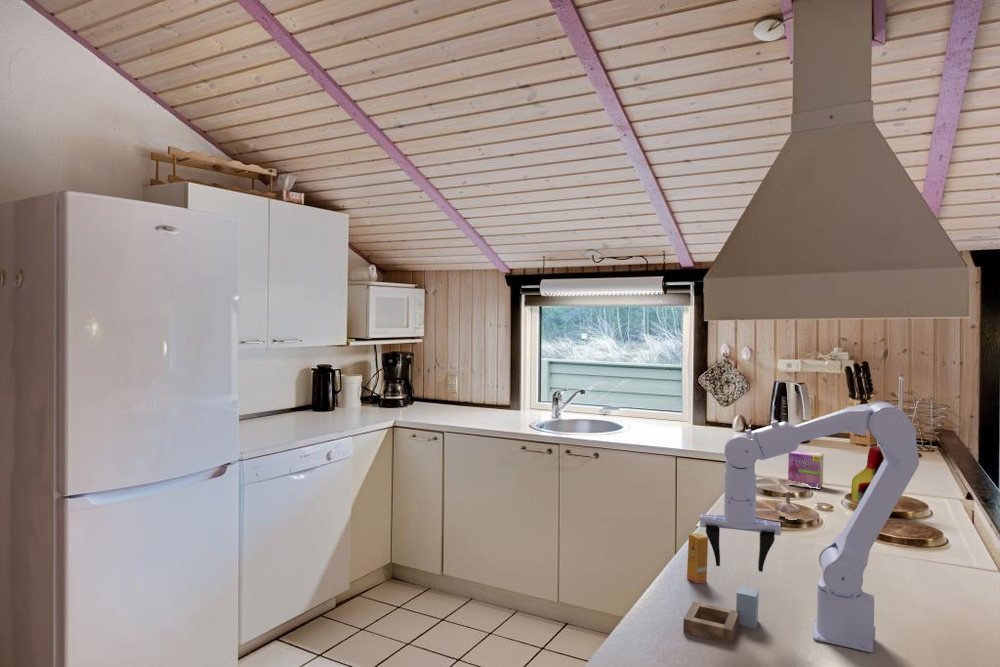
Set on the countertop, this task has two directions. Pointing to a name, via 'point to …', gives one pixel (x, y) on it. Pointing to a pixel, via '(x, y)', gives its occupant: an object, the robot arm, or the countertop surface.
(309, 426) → the countertop surface
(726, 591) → the countertop surface
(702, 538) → the supplement box
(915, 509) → the countertop surface
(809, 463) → the box
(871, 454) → the bottle
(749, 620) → the peg
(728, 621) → the walnut holder
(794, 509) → the garlic bulb
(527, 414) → the countertop surface
